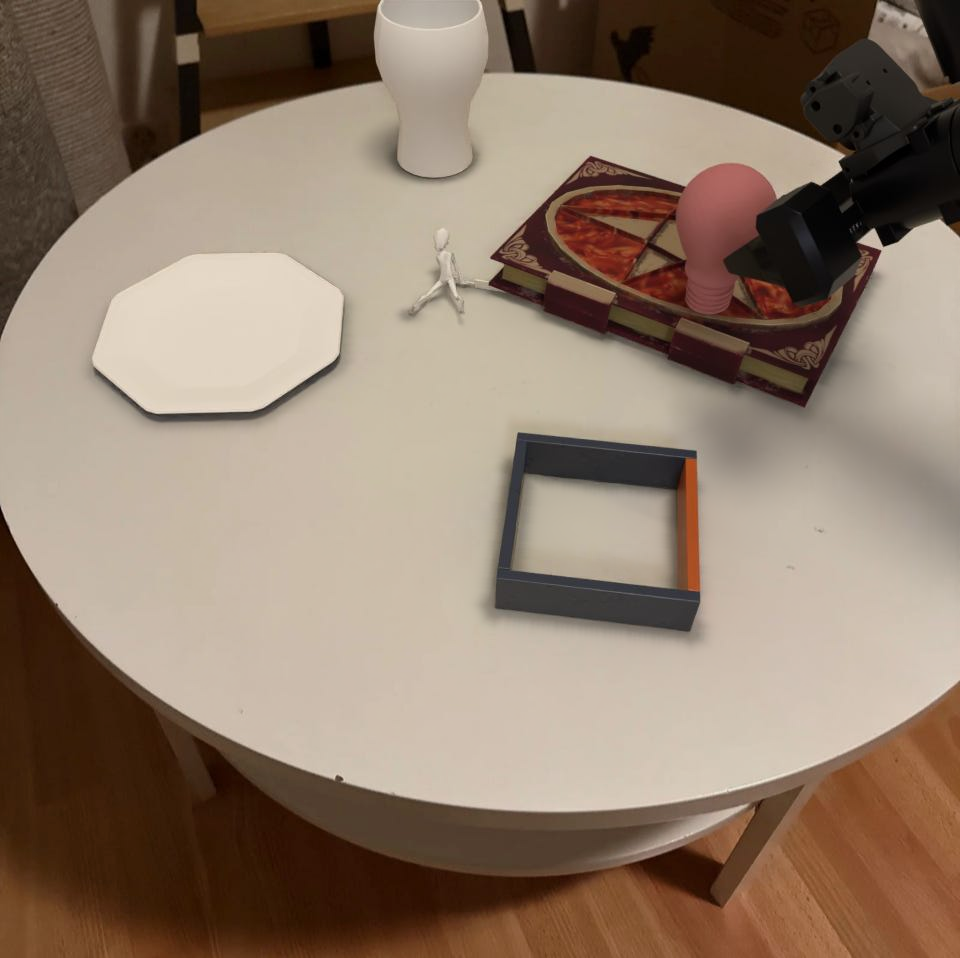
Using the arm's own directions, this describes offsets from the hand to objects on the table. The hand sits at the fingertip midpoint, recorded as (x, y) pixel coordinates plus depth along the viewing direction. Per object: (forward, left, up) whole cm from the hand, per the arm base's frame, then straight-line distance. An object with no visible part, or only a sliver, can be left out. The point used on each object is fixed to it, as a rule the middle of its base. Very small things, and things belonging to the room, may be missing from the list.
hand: (763, 237), depth 65 cm
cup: (+11, -38, -13) cm, 42 cm away
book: (-2, -11, -13) cm, 17 cm away
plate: (+37, -18, -13) cm, 43 cm away
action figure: (+15, -15, -13) cm, 25 cm away
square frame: (+17, +12, -13) cm, 25 cm away
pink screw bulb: (+1, -3, -8) cm, 9 cm away
